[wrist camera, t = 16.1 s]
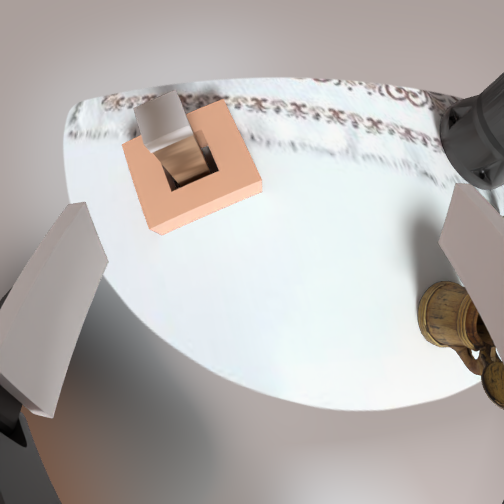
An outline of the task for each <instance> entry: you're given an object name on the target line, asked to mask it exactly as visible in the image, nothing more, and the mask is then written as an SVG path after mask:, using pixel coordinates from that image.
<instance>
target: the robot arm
mask: <svg viewBox="0 0 504 504" xmlns="http://www.w3.org/2000/svg"><path fill="white" fill-rule="evenodd" d="M440 134H441V140H442V144H443V147H444V150H445V152H446V154H447V157H448V158H449V160H450V162H451V164H452V165H453V167H454V168H455V169H456V171H457V172H458V173H459V174H460V175H461V176H462V177H463V178H464V179H465V180H466V181H467V182H469V183H470V184H463V183H456V184H455V188H454V191H453V195H452V199H451V202H450V206H449V209H448V213H447V216H446V219H445V223H444V226H443V229H442V232H441V235H440V238H439V241H438V244H439V246H440V247H441V249H442V250H443V252H444V253H445V255H446V257H447V258H448V260H449V261H450V263H451V265H452V266H453V268H454V270H455V271H456V273H457V275H458V276H459V278H460V280H461V281H462V283H463V285H464V287H465V288H466V290H467V292H468V294H469V296H470V297H471V299H472V301H473V303H474V305H475V306H476V308H477V310H478V312H479V314H480V316H481V318H482V320H483V322H484V324H485V326H486V328H487V330H488V332H489V334H490V336H491V338H492V340H493V342H494V344H495V346H496V348H497V351H498V353H499V355H500V357H501V360H502V362H503V364H504V218H503V217H502V216H501V215H500V214H499V213H498V212H497V211H496V210H495V208H494V207H493V206H492V205H491V204H490V203H489V202H488V201H487V200H486V199H485V198H484V197H483V196H482V195H481V194H480V193H479V192H478V191H477V190H476V189H475V188H474V187H473V186H475V187H477V188H480V189H483V190H492V189H495V188H498V187H500V186H502V185H504V73H502V74H501V75H500V76H499V77H498V78H497V79H496V80H495V81H494V82H493V83H492V84H491V85H489V86H488V87H487V88H486V89H485V90H484V91H483V92H482V93H481V94H480V95H477V96H473V97H470V98H466V99H463V100H459V101H457V102H455V103H454V104H452V105H451V106H450V107H449V108H448V109H447V110H446V111H445V113H444V114H443V116H442V119H441V124H440ZM471 184H472V185H473V186H472V185H471ZM108 262H109V261H108V259H107V256H106V254H105V252H104V249H103V247H102V244H101V242H100V239H99V237H98V234H97V232H96V229H95V226H94V224H93V221H92V219H91V216H90V213H89V210H88V208H87V205H86V202H81V203H74V204H68V205H67V207H66V208H65V209H64V211H63V212H62V213H61V215H60V216H59V218H58V219H57V220H56V222H55V223H54V224H53V226H52V227H51V229H50V230H49V232H48V233H47V235H46V236H45V237H44V239H43V240H42V242H41V243H40V245H39V246H38V248H37V249H36V251H35V252H34V254H33V255H32V257H31V258H30V260H29V261H28V263H27V264H26V266H25V268H24V269H23V271H22V272H21V274H20V276H19V277H18V279H17V281H16V282H15V284H14V286H13V287H12V288H11V289H10V290H9V291H8V293H7V294H6V295H5V296H4V297H3V298H2V299H1V301H0V504H62V503H61V501H60V500H59V498H58V496H57V494H56V491H55V489H54V487H53V485H52V484H51V481H50V479H49V477H48V475H47V472H46V470H45V468H44V465H43V463H42V461H41V458H40V456H39V453H38V451H37V448H36V446H35V443H34V440H33V438H32V435H31V432H30V429H29V426H28V423H27V420H26V418H25V416H24V415H23V413H21V412H20V410H21V407H22V405H24V406H25V407H26V408H27V409H28V410H30V411H31V412H32V413H34V414H37V415H41V416H45V417H49V418H53V416H54V412H55V408H56V404H57V401H58V397H59V394H60V391H61V387H62V384H63V381H64V378H65V375H66V371H67V368H68V365H69V362H70V359H71V356H72V353H73V350H74V348H75V345H76V342H77V339H78V336H79V333H80V331H81V328H82V325H83V323H84V320H85V317H86V315H87V312H88V309H89V307H90V305H91V301H92V300H93V297H94V295H95V292H96V290H97V287H98V285H99V283H100V280H101V278H102V276H103V273H104V271H105V269H106V266H107V264H108ZM502 504H504V501H503V503H502Z"/></svg>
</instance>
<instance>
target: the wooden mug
mask: <svg viewBox="0 0 504 504" xmlns="http://www.w3.org/2000/svg"><path fill="white" fill-rule="evenodd" d="M418 322H419V327H420V330H421V333H422V335H423V336H424V337H425V339H426V340H427V341H428V342H430V343H432V344H433V345H436V346H438V347H451V348H452V349H454V350H455V351H456V352H457V354H458V355H459V356H460V358H461V359H462V361H463V362H464V364H465V365H466V367H467V368H468V369H469V370H470V371H471V372H473V373H474V374H476V375H481V380H482V385H483V388H484V390H485V392H486V394H487V396H488V397H489V399H490V400H491V401H492V402H493V403H494V404H496V405H497V406H498V407H499V408H501V409H503V410H504V364H503V362H502V361H501V360H500V358H499V357H498V355H497V353H496V346H495V344H494V342H493V340H492V338H491V336H490V334H489V332H488V330H487V328H486V326H485V324H484V322H483V320H482V318H481V316H480V314H479V312H478V310H477V308H476V306H475V305H474V303H473V301H472V299H471V297H470V296H469V294H468V292H467V290H466V288H465V287H462V286H461V285H459V284H457V283H453V282H449V281H441V282H438V283H435V284H434V285H432V286H431V287H430V288H429V289H428V290H427V291H426V292H425V293H424V295H423V297H422V299H421V301H420V304H419V308H418ZM471 349H472V350H473V351H479V350H480V352H479V357H478V359H474V357H473V355H472V351H471Z"/></svg>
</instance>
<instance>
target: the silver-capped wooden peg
mask: <svg viewBox="0 0 504 504" xmlns="http://www.w3.org/2000/svg"><path fill="white" fill-rule="evenodd" d="M133 109H134V112H135V116H136V119H137V123H138V126H139V130H140V133H141V136H142V140H143V143H144V145H145V147H146V148H147V149H148V150H149V151H150V152H151V153H153V154H154V155H155V156H156V157H157V159H158V160H159V161H160V162H161V163H162V165H163V166H164V167H165V168H166V169H167V171H168V172H169V173H170V174H171V175H172V177H173V178H174V179H175V180H176V181H177V183H178V184H179V185H180V186H181V187H183V186H185V185H188V184H190V183H192V182H194V181H197V180H199V179H201V178H203V177H206V176H208V175H210V174H211V171H210V169H209V166H208V164H207V161H206V159H205V156H204V154H203V151H202V149H201V147H200V145H199V143H198V140H197V138H196V136H195V134H194V132H193V129H192V127H191V125H190V123H189V121H188V118H187V116H186V113H185V111H184V108H183V105H182V103H181V100H180V98H179V96H178V93H177V91H176V90H174V91H171V92H169V93H166V94H164V95H162V96H159V97H157V98H155V99H153V100H150V101H148V102H146V103H144V104H142V105H140V106H137V107H135V108H133Z"/></svg>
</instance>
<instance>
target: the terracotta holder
mask: <svg viewBox="0 0 504 504" xmlns="http://www.w3.org/2000/svg"><path fill="white" fill-rule="evenodd" d="M186 116H187V118H188V121H189V123H190V125H191V127H192V129H193V132H194V134H195V136H196V138H197V140H198V143H199V145H200V147H201V148H203V147H206V146H208V147H209V149H210V152H211V154H212V156H213V159H214V161H215V163H216V166H217V168H218V170H219V171H217V172H215V173H213V174H210V175H208V176H206V177H203V178H201V179H199V180H197V181H194V182H192V183H190V184H188V185H185V186H183V187H181V188H179V189H177V188H176V186H175V183H174V180H173V178H172V175H171V174H170V173H169V172H168V171H167V169H166V168H165V167H164V166H163V165H162V163H161V162H160V161H159V160H158V159H157V157H156V156H155V155H154V154H153V153H151V152H150V151H149V150H148V149H147V148H146V147H145V145H144V143H143V140H142V136H141V135H140V136H138V137H136V138H134V139H132V140H130V141H128V142H126V143H124V144H122V147H123V150H124V154H125V157H126V160H127V164H128V167H129V170H130V173H131V176H132V180H133V183H134V186H135V189H136V192H137V195H138V198H139V201H140V204H141V207H142V210H143V213H144V216H145V219H146V222H147V224H148V227H149V229H150V230H152V231H154V232H156V233H158V234H160V235H164V234H166V233H168V232H171V231H173V230H175V229H177V228H179V227H182V226H184V225H186V224H188V223H191V222H193V221H195V220H197V219H200V218H202V217H204V216H206V215H209V214H211V213H213V212H216V211H218V210H220V209H223V208H225V207H227V206H230V205H232V204H234V203H237V202H239V201H241V200H244V199H246V198H249V197H251V196H253V195H256V194H258V193H261V192H262V179H261V177H260V175H259V173H258V170H257V168H256V166H255V164H254V162H253V160H252V158H251V155H250V153H249V151H248V149H247V147H246V145H245V143H244V141H243V139H242V136H241V134H240V132H239V130H238V128H237V126H236V124H235V122H234V120H233V118H232V116H231V114H230V112H229V110H228V108H227V106H226V103H225V101H224V99H222V100H219V101H217V102H214V103H212V104H209V105H207V106H204V107H202V108H199V109H197V110H194V111H192V112H190V113H187V114H186Z"/></svg>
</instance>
